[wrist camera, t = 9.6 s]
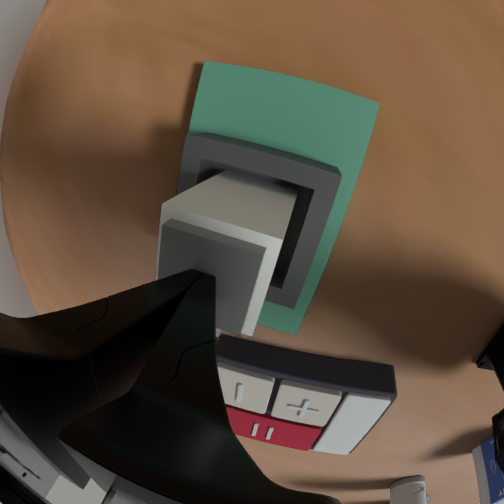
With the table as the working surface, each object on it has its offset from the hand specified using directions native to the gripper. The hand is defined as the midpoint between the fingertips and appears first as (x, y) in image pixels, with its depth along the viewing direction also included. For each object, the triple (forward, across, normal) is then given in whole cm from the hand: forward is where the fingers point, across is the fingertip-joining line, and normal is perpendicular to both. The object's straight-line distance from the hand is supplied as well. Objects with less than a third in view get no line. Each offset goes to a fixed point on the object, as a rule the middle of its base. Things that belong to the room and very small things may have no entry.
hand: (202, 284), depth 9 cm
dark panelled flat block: (+10, -8, +16) cm, 20 cm away
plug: (+8, 0, 0) cm, 8 cm away
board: (+10, 0, 0) cm, 10 cm away
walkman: (+10, -43, +21) cm, 49 cm away
